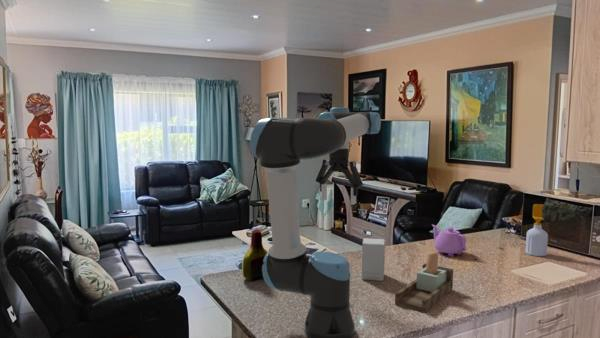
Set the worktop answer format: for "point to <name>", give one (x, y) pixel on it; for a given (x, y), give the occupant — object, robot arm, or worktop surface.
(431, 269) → the dowel
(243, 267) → the bottle
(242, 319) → the worktop surface
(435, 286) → the socket block
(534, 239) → the soap bottle
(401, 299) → the brown long open box
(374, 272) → the supplement box
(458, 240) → the teapot
